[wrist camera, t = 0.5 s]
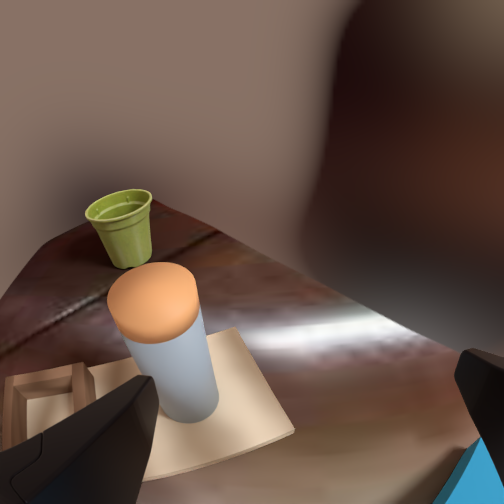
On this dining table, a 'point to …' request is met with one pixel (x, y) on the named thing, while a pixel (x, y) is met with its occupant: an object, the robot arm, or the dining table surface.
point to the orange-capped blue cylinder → (167, 337)
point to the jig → (167, 430)
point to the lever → (473, 479)
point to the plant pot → (123, 226)
